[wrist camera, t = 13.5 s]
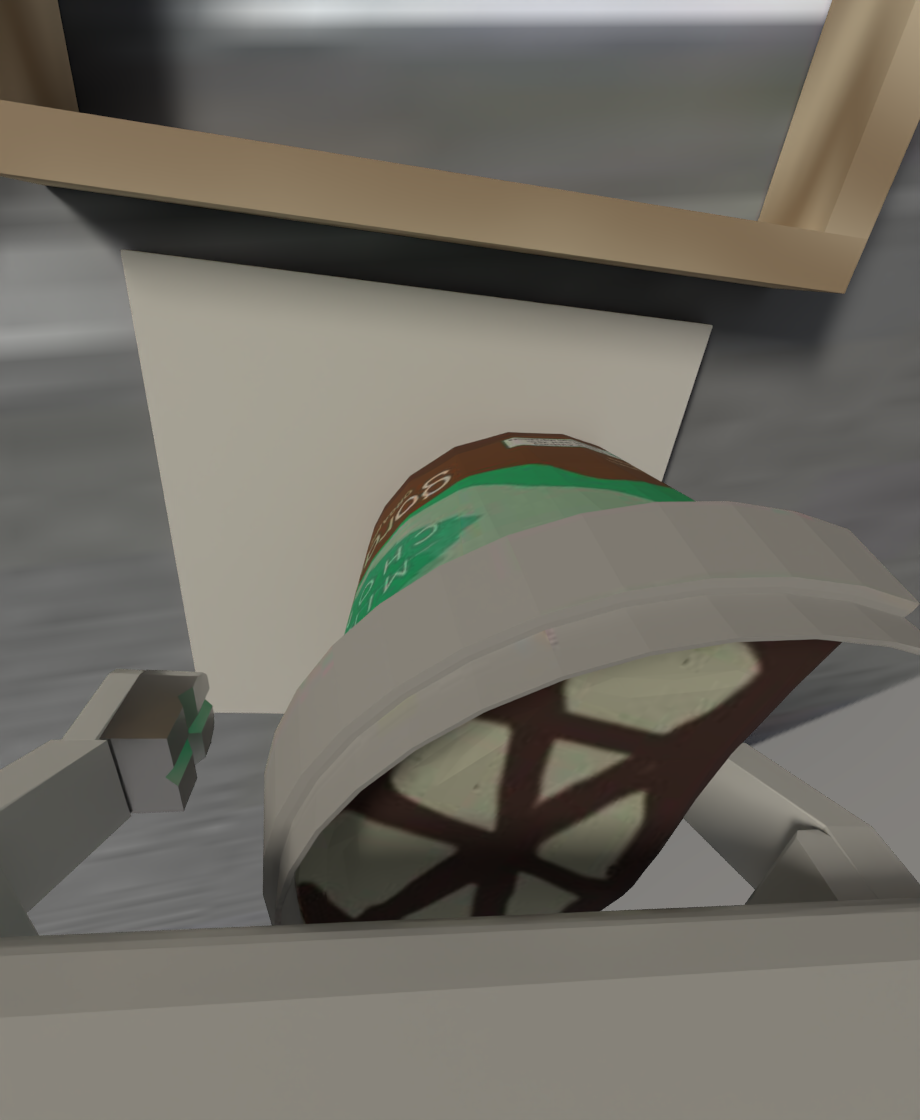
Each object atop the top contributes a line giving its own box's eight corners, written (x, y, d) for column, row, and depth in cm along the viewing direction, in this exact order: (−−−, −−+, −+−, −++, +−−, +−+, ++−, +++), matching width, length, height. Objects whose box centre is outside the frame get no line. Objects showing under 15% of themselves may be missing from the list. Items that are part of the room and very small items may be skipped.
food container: (416, 290, 12) (445, 366, 4) (629, 396, 14) (996, 619, 5) (278, 667, 17) (155, 1066, 9) (445, 709, 19) (479, 1078, 10)
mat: (581, 709, 20) (584, 717, 20) (206, 703, 18) (203, 712, 18) (705, 324, 13) (713, 325, 13) (128, 249, 12) (119, 249, 11)
